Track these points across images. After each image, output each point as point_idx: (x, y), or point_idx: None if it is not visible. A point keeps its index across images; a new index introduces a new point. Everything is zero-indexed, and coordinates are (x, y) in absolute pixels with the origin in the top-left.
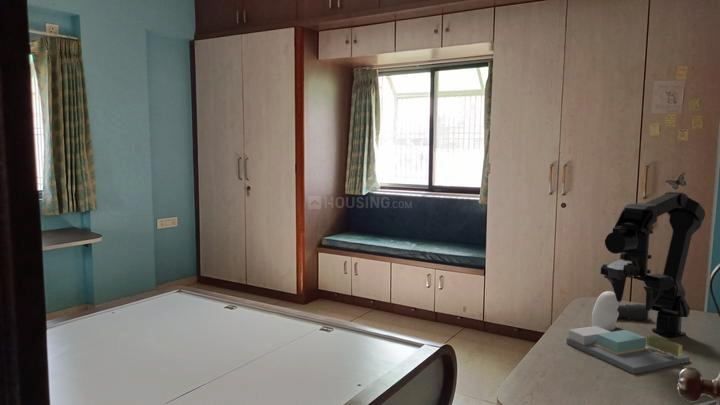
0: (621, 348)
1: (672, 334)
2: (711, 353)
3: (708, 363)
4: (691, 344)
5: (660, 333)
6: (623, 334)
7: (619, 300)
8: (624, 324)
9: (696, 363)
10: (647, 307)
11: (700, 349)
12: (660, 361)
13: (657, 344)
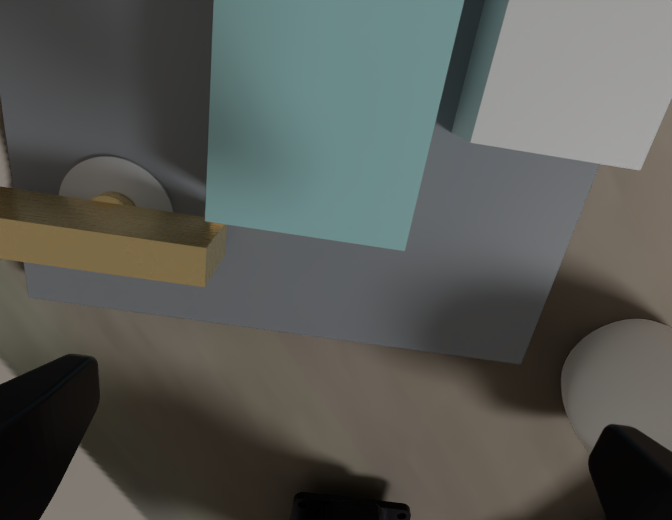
0: None
1: (304, 517)
2: (111, 472)
3: (16, 351)
4: (225, 503)
5: (355, 498)
6: (343, 121)
7: (610, 451)
8: (562, 504)
9: (31, 302)
10: (22, 379)
11: (165, 479)
12: (10, 44)
13: (125, 216)
